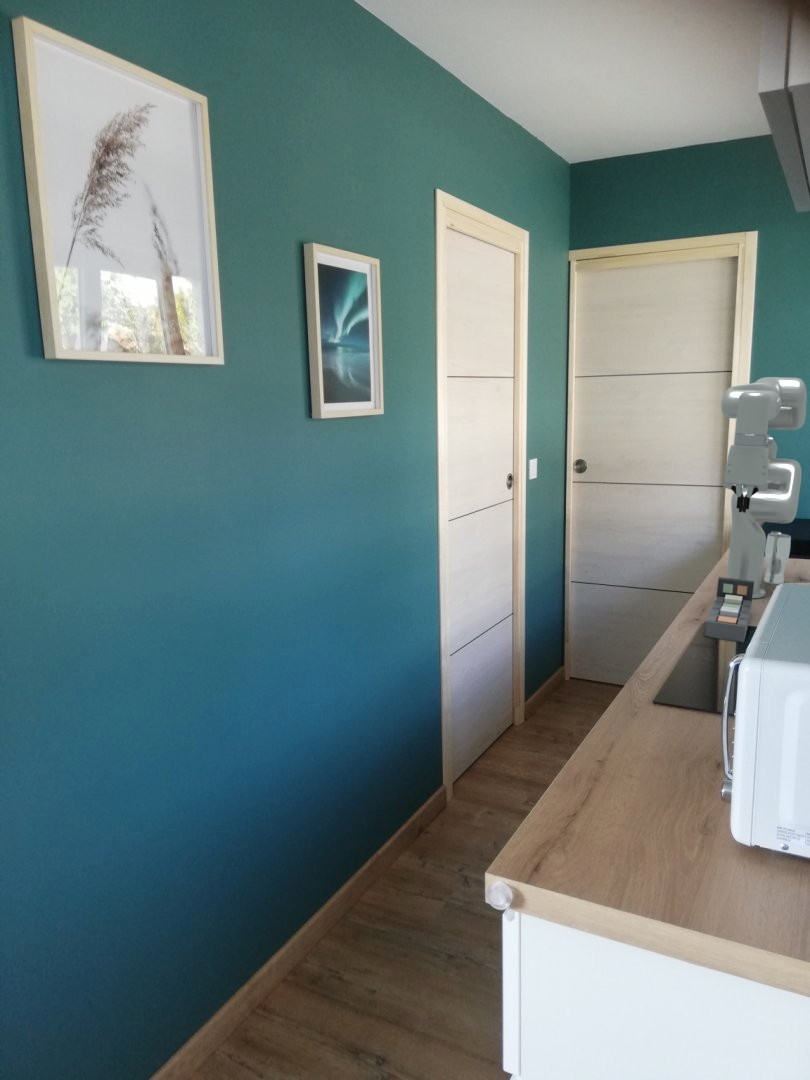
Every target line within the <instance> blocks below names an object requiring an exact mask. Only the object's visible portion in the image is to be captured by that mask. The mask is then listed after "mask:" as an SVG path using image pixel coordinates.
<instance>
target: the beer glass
mask: <svg viewBox="0 0 810 1080" xmlns="http://www.w3.org/2000/svg"><path fill="white" fill-rule="evenodd" d="M791 538H792V536H791V535H789V534H786V533H785V534H784V533H768V534H767V536H766V543H765V552H764V560H765V572H764V577H763V580H762V581H763V583H765V584H768V585H773V586H774V584H776V583H777V584H776V585H775V586H779V585H778V584H780V583H784V584H785V570H786V566H787V563H788V561H789V559H790V558H789V557H790V554H791V553H790V552H791V542H792V541H791V540H792V539H791Z"/></svg>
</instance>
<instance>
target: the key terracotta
mask: <svg viewBox="0 0 810 1080" xmlns="http://www.w3.org/2000/svg"><path fill="white" fill-rule="evenodd" d="M717 622H722V623H729V624H736V623H737V618H732V617H724V616H719V618H718V621H717Z"/></svg>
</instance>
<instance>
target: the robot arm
mask: <svg viewBox="0 0 810 1080" xmlns="http://www.w3.org/2000/svg"><path fill="white" fill-rule="evenodd" d="M807 396H808V395H807V387H806V384H805V382H804V380H803V379H802V378H799V377H784V376H782V377H778V376H765V377H761V378H759V379H757V380H755V382H751V383H746V384H740V385H734V386H730V387H729V388H728V389H727V390H726V391H725V392H724V394H723V396H722V400H721V403H720V406H721V413H722V415H723V416H724V417H725V418H727V419H736V420H735V421H736V422H735V429H734V438H733V439H734V440H733V444H731V445H730V447H729V451H728V455H727V459H726V465H725V471H724V481H723V484H722V487H723V488H724V489H728V490H731V491H733V494H732V496H731V503H730V506H731V532H730V533H731V534H730V541H729V542H730V543H729V552H728V559H727V569H726V570H727V571H726V578H732V579H741V580H749V581H754V589H753V597H752V599H760V598H761V599H762V598H764V597H765V596H766V591H765V589H763V588H762V587H761V585H762V578H763V577H762V575H763V569H764V560H765V547H766V541H767V536H766V533H765V531H764V529H763V528H762V526H761V525H760V524H759V522H760V523H765V522H766V523H773V524H774V523H775V524H790V523H792V522H793V521H794V520H795V517H796V515H797V512H798V508H799V507H798V505H799V499H800V498H799V497H800V489H801V484H802V466H801V464H800V462H799V461H797V460H795V459H791V458H782V457H780V458H779V457H777V453H778V445H777V443H776V442H775V440H774V438H773V437H772V436H771V435H770V434H769V433H768V430H783V431H786V430H787V431H796V430H799V429H801V428H802V427H803V426H804V424H805V421H806V415H807V399H808V398H807ZM743 486H745V487H743Z"/></svg>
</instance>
